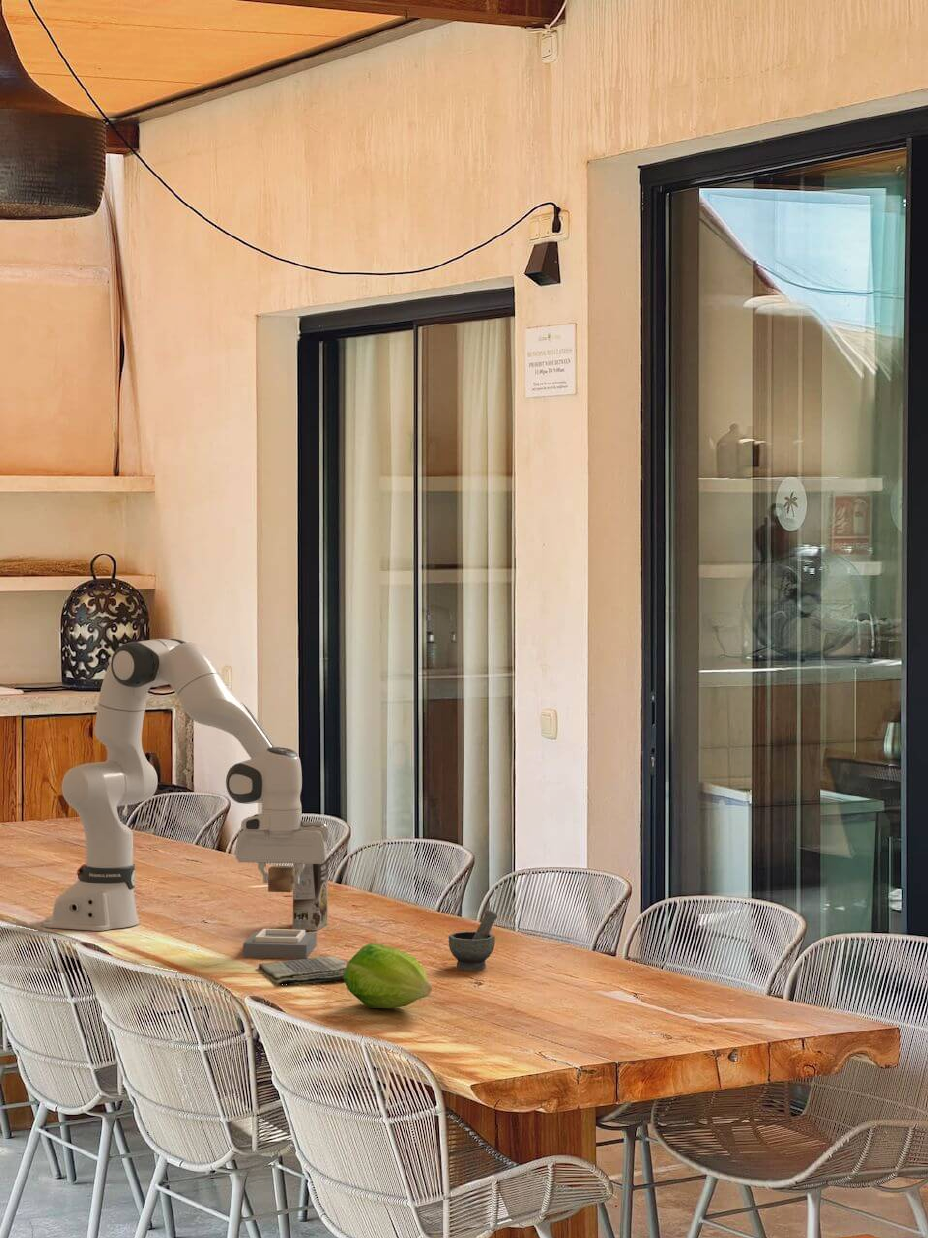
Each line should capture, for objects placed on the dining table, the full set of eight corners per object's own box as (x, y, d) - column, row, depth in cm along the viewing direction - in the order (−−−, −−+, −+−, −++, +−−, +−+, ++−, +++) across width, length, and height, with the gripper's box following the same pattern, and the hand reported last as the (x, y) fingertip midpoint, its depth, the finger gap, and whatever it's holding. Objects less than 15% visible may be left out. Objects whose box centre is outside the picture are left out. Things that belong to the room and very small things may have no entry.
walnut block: (268, 891, 399) (268, 869, 399) (272, 888, 404) (272, 865, 404) (290, 892, 398) (290, 869, 398) (294, 888, 403) (294, 866, 403)
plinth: (243, 957, 395) (243, 938, 395) (255, 944, 409) (255, 926, 409) (306, 958, 394) (306, 940, 394) (316, 946, 408) (316, 928, 408)
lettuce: (397, 1026, 335) (398, 962, 335) (331, 1006, 350) (331, 945, 350) (453, 1015, 344) (453, 952, 344) (386, 996, 359) (387, 936, 359)
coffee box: (317, 931, 425) (318, 863, 425) (291, 930, 426) (292, 862, 426) (328, 924, 434) (329, 857, 434) (302, 923, 435) (303, 856, 435)
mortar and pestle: (464, 974, 380) (464, 917, 380) (440, 966, 388) (440, 910, 388) (507, 968, 386) (508, 913, 386) (483, 961, 394) (484, 906, 394)
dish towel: (255, 971, 383) (255, 956, 383) (336, 966, 390) (336, 951, 390) (278, 990, 366) (278, 974, 366) (362, 984, 372) (362, 969, 372)
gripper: (330, 820, 403) (329, 881, 403) (239, 818, 405) (239, 879, 405) (325, 823, 397) (325, 886, 397) (234, 822, 398) (233, 884, 399)
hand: (281, 883), depth 401 cm, fingers closed on walnut block, 5 cm apart
